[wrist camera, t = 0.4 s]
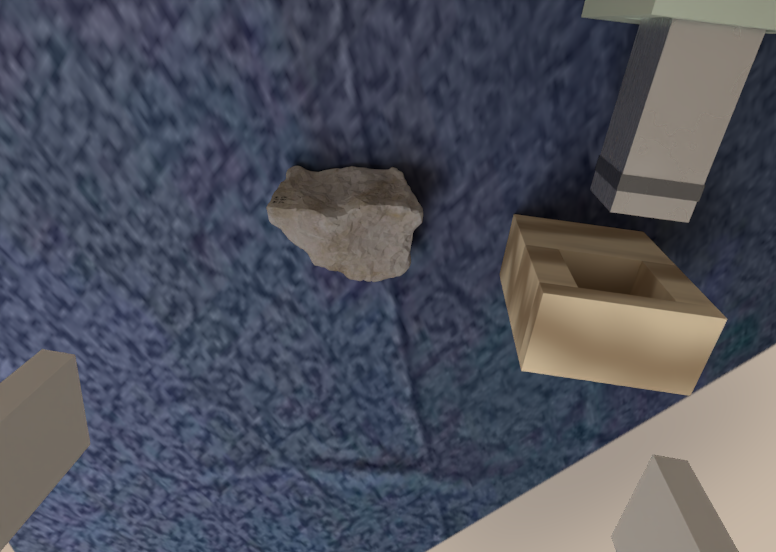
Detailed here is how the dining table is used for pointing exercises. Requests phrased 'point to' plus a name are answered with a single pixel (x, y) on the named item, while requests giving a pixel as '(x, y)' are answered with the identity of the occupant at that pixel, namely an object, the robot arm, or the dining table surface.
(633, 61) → the grey-banded white peg
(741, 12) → the sleeve
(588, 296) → the socket block
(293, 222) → the stone
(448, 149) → the dining table surface
